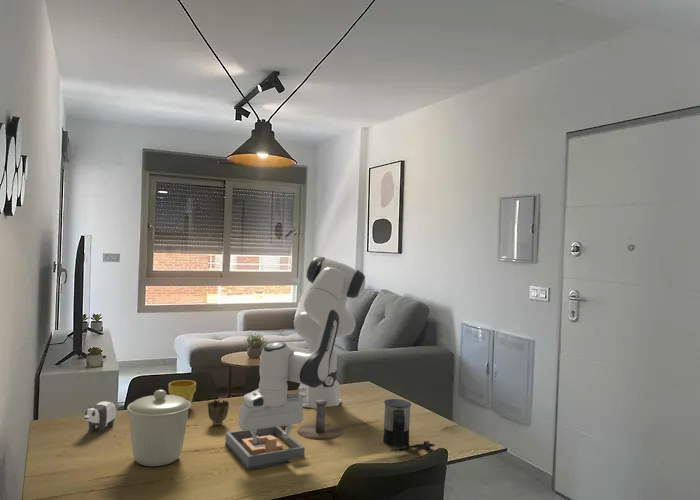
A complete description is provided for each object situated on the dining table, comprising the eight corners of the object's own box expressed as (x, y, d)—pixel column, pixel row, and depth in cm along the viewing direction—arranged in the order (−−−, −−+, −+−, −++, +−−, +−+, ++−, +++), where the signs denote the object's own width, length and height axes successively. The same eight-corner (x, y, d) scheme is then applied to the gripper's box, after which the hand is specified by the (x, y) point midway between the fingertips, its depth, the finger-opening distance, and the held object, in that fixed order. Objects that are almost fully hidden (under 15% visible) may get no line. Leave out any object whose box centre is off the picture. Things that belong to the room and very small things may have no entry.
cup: (230, 422, 199) (231, 400, 199) (224, 429, 191) (225, 406, 191) (211, 420, 199) (212, 399, 199) (203, 427, 192) (204, 404, 192)
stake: (289, 431, 192) (290, 397, 192) (329, 425, 200) (330, 393, 200) (308, 447, 178) (310, 410, 178) (351, 440, 186) (352, 405, 186)
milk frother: (377, 442, 186) (379, 399, 186) (419, 438, 191) (421, 396, 191) (394, 458, 173) (396, 412, 172) (438, 454, 178) (441, 409, 177)
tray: (225, 444, 177) (225, 432, 177) (276, 436, 186) (277, 425, 186) (248, 470, 158) (248, 456, 158) (304, 460, 167) (304, 447, 167)
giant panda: (101, 422, 192) (103, 396, 192) (116, 424, 191) (118, 397, 191) (77, 437, 177) (78, 408, 177) (93, 439, 177) (94, 409, 177)
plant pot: (161, 410, 209) (162, 384, 209) (177, 402, 219) (178, 378, 219) (185, 413, 206) (186, 388, 206) (200, 406, 216) (201, 381, 216)
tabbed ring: (241, 443, 176) (242, 426, 176) (270, 439, 181) (271, 423, 181) (256, 459, 164) (257, 441, 164) (287, 454, 169) (288, 437, 169)
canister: (167, 443, 176) (170, 378, 175) (201, 460, 164) (203, 390, 164) (113, 459, 162) (116, 389, 161) (145, 478, 150) (148, 402, 150)
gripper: (299, 390, 175) (297, 432, 176) (237, 396, 165) (235, 441, 165) (307, 395, 170) (305, 439, 170) (244, 402, 160) (242, 449, 160)
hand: (270, 440), depth 168 cm, fingers open, 8 cm apart
